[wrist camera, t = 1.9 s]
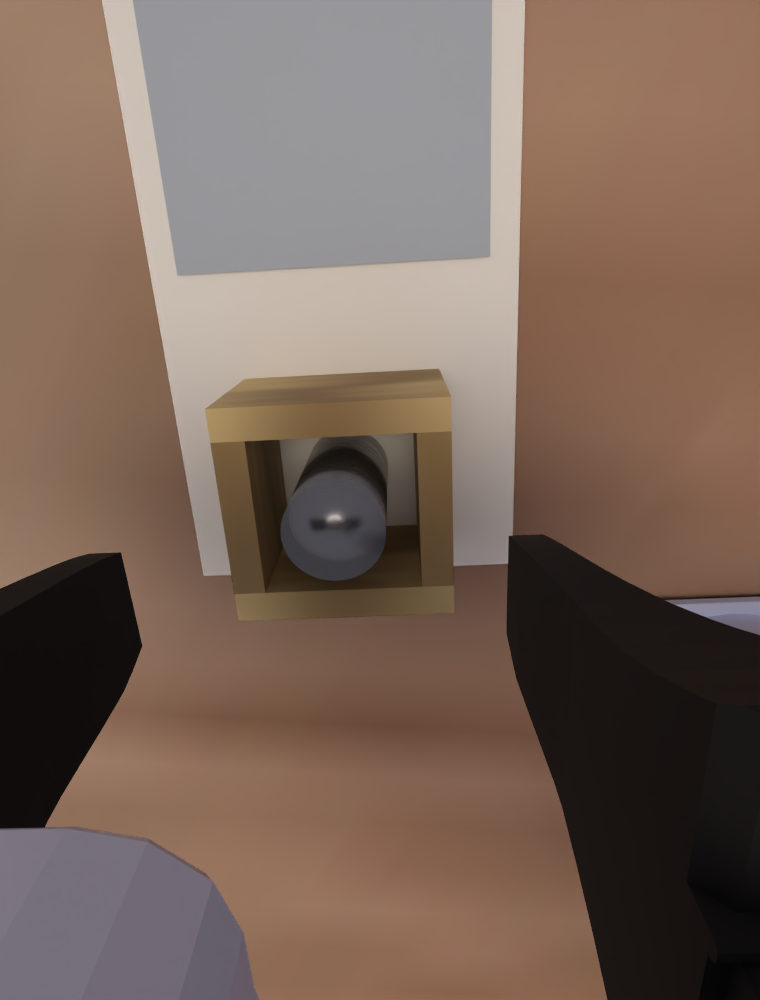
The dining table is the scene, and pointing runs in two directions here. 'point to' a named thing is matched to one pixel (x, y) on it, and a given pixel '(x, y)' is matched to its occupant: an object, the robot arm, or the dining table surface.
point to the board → (334, 219)
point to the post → (338, 509)
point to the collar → (262, 500)
